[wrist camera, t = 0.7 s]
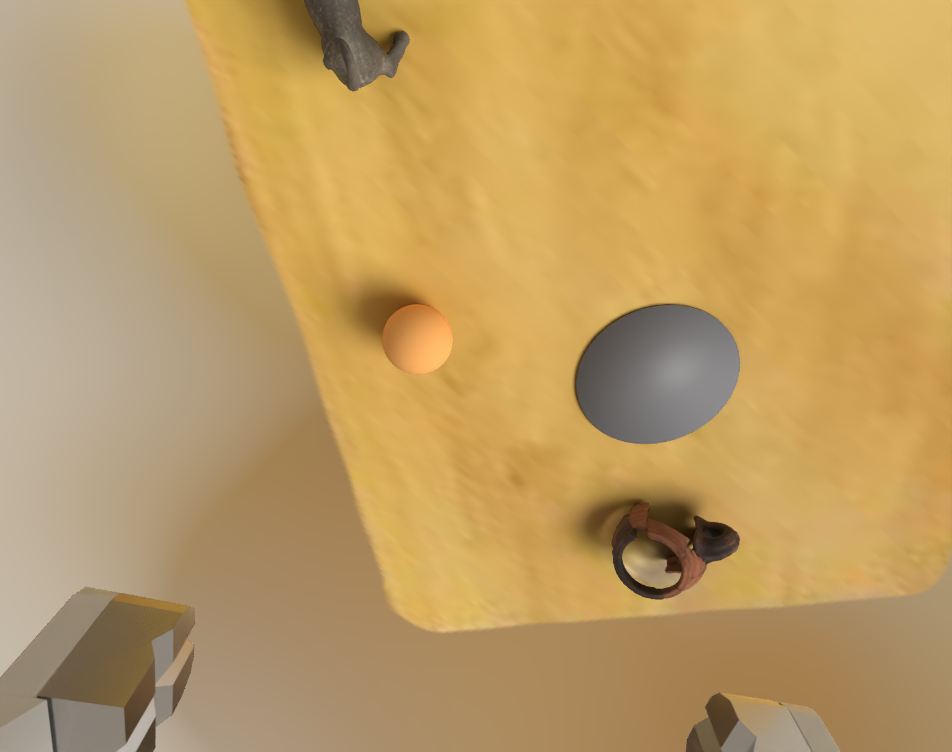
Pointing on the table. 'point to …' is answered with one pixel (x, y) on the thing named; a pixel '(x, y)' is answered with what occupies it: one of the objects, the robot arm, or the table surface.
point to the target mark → (657, 374)
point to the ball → (417, 339)
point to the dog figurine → (353, 43)
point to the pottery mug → (673, 549)
